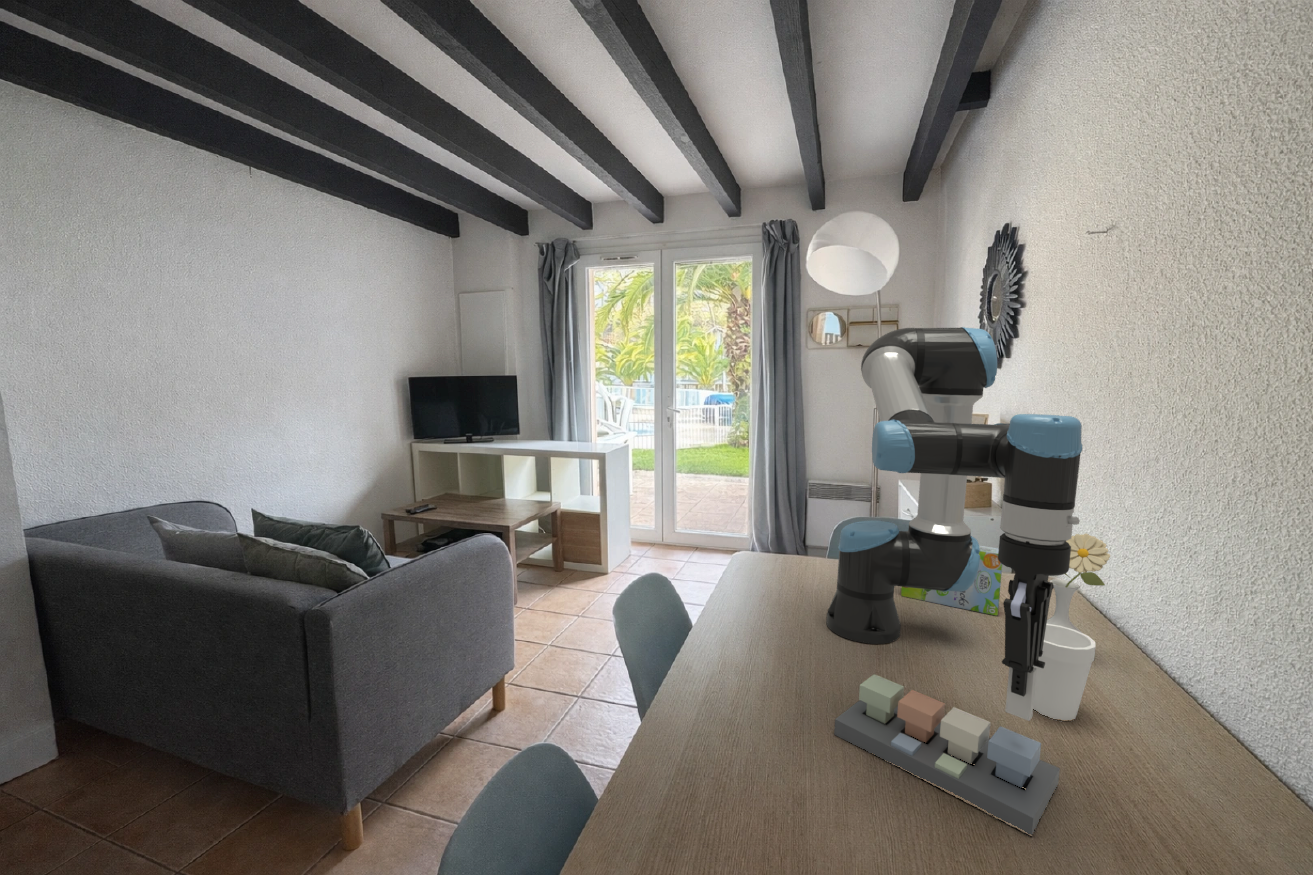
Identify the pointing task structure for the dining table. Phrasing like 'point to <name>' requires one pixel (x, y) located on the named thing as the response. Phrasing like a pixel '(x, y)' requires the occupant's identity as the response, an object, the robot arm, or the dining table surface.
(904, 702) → the key terracotta
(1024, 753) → the key slate
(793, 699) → the dining table surface
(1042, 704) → the foam cup
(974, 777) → the keypad
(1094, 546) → the flower in vase
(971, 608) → the snack box
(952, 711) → the key cream
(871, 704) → the key sage
